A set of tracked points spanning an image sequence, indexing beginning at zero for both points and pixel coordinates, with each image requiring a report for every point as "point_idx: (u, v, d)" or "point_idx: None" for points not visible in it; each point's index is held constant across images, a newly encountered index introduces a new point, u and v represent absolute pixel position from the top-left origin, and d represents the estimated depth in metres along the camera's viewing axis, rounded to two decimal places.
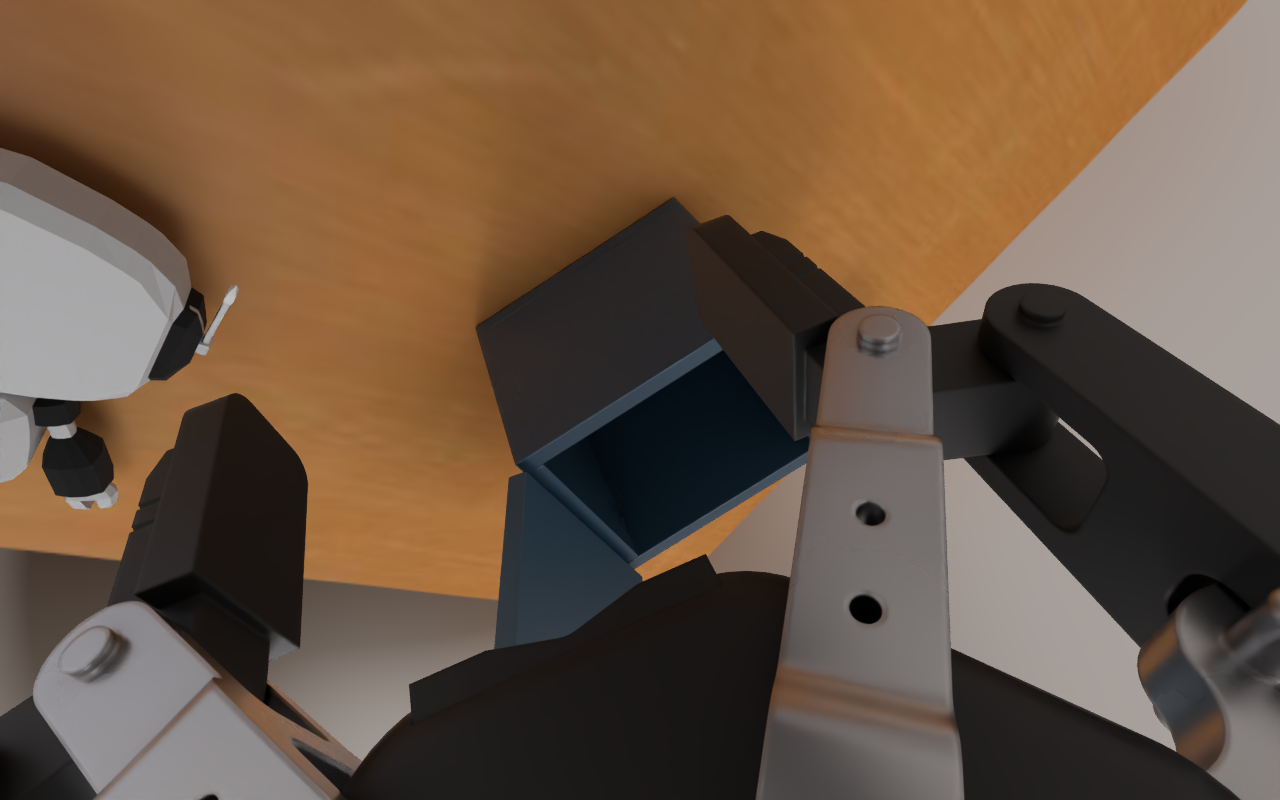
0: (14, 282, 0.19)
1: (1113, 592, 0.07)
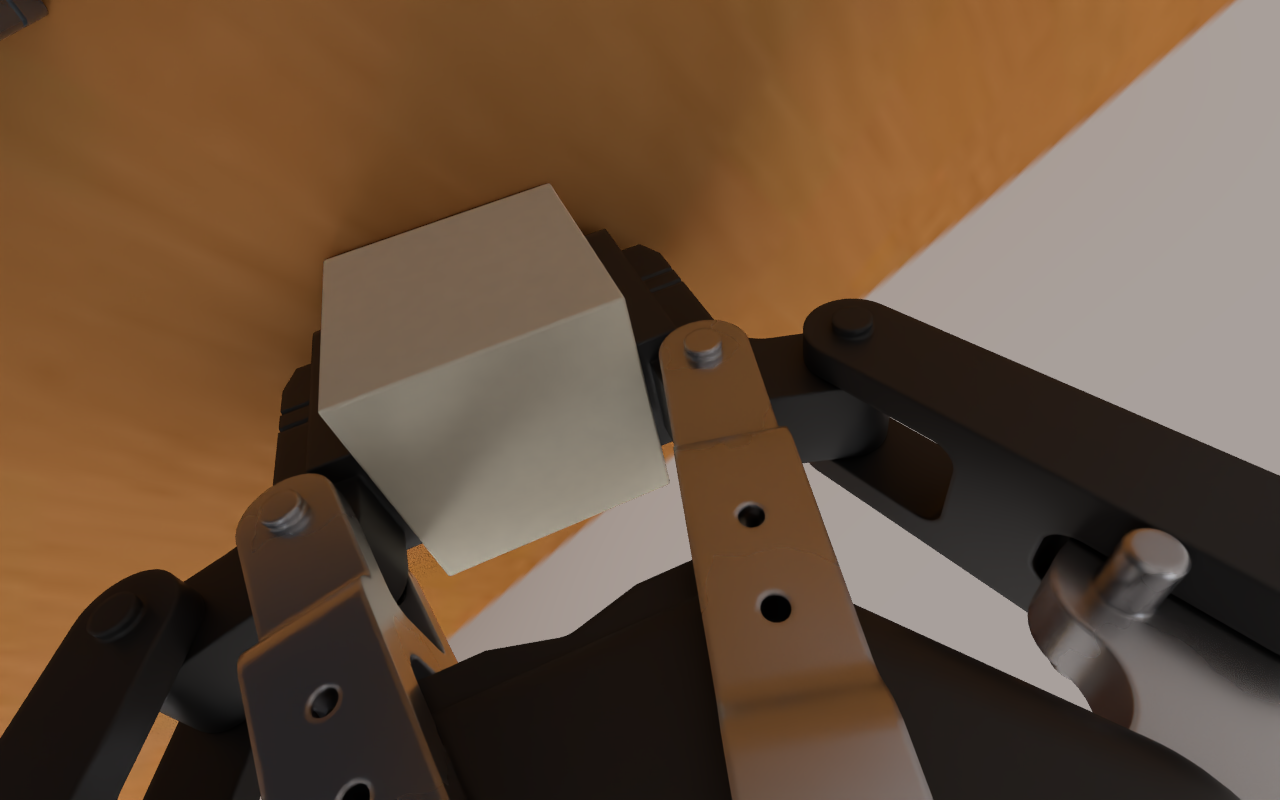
0: None
1: (985, 564, 0.08)
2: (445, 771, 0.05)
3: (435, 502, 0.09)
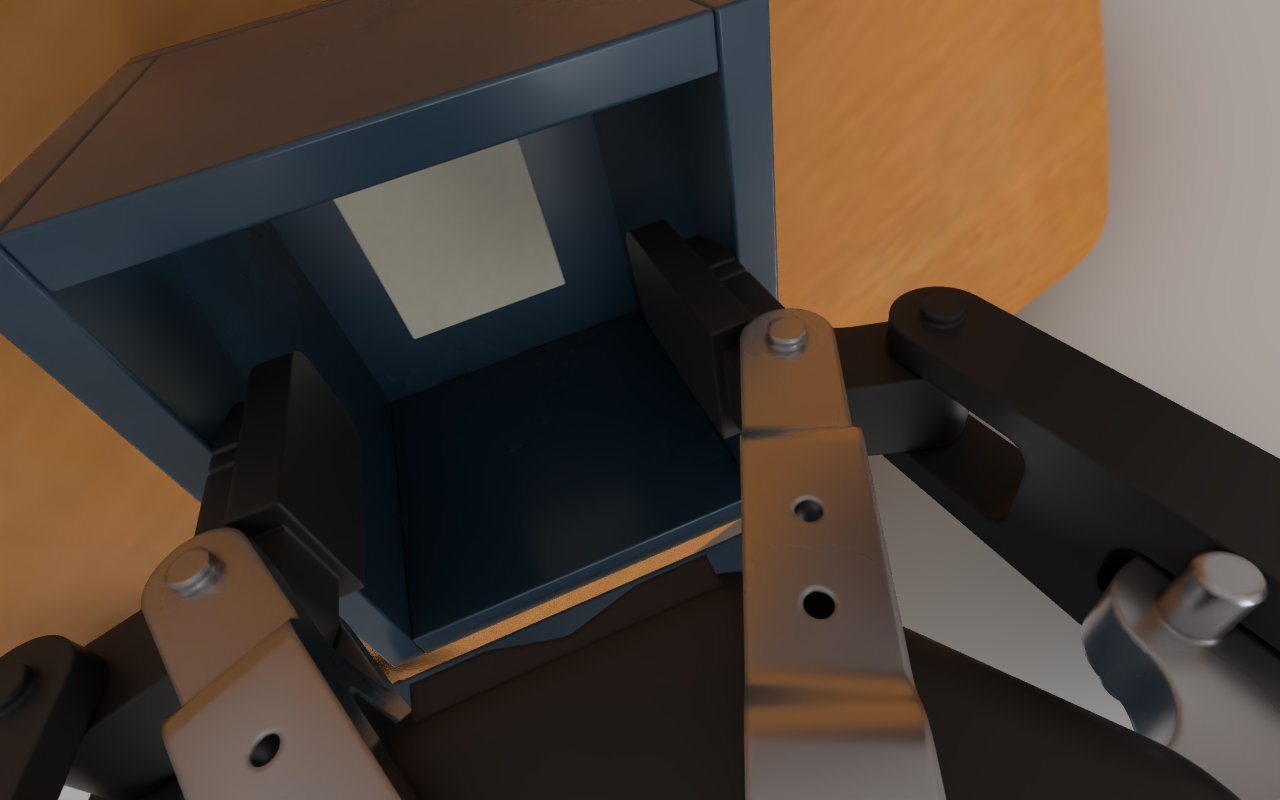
0: None
1: (1045, 573, 0.07)
2: (403, 791, 0.05)
3: (402, 273, 0.14)
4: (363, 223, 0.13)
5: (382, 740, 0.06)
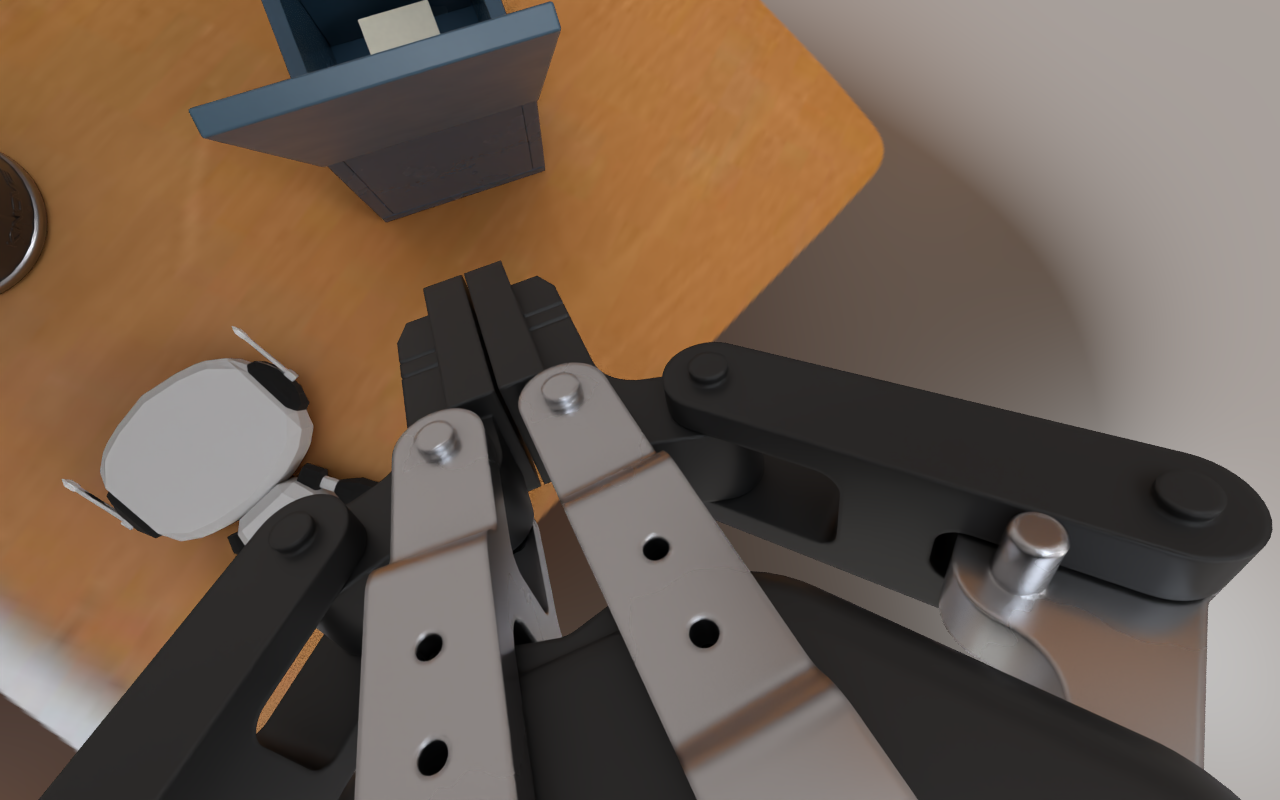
0: (190, 424, 0.34)
1: (886, 572, 0.08)
2: (519, 758, 0.05)
3: None
4: (368, 33, 0.34)
5: (522, 682, 0.06)
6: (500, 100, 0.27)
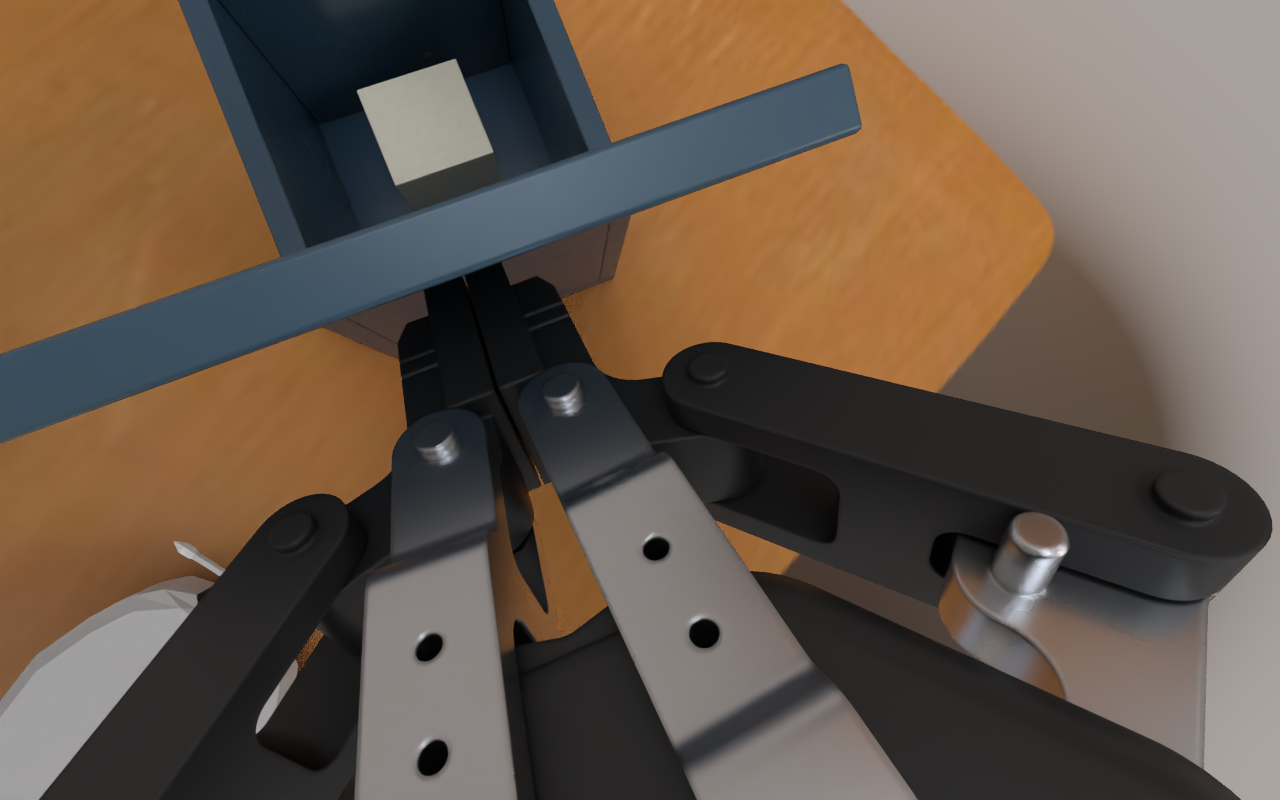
0: (109, 697, 0.22)
1: (887, 572, 0.08)
2: (520, 758, 0.05)
3: (391, 138, 0.24)
4: (372, 108, 0.24)
5: (522, 682, 0.06)
6: None
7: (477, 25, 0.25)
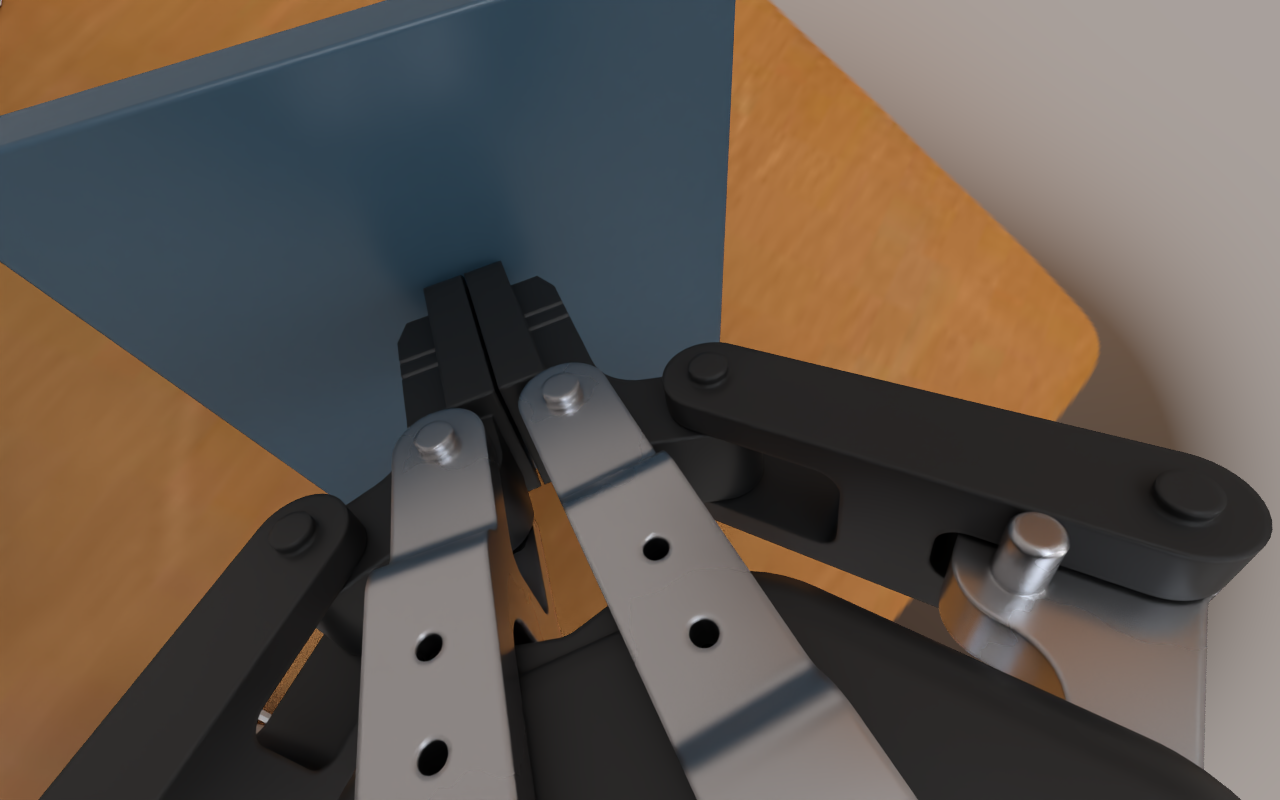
0: None
1: (886, 572, 0.08)
2: (519, 758, 0.05)
3: None
4: None
5: (522, 681, 0.06)
6: (652, 356, 0.16)
7: None
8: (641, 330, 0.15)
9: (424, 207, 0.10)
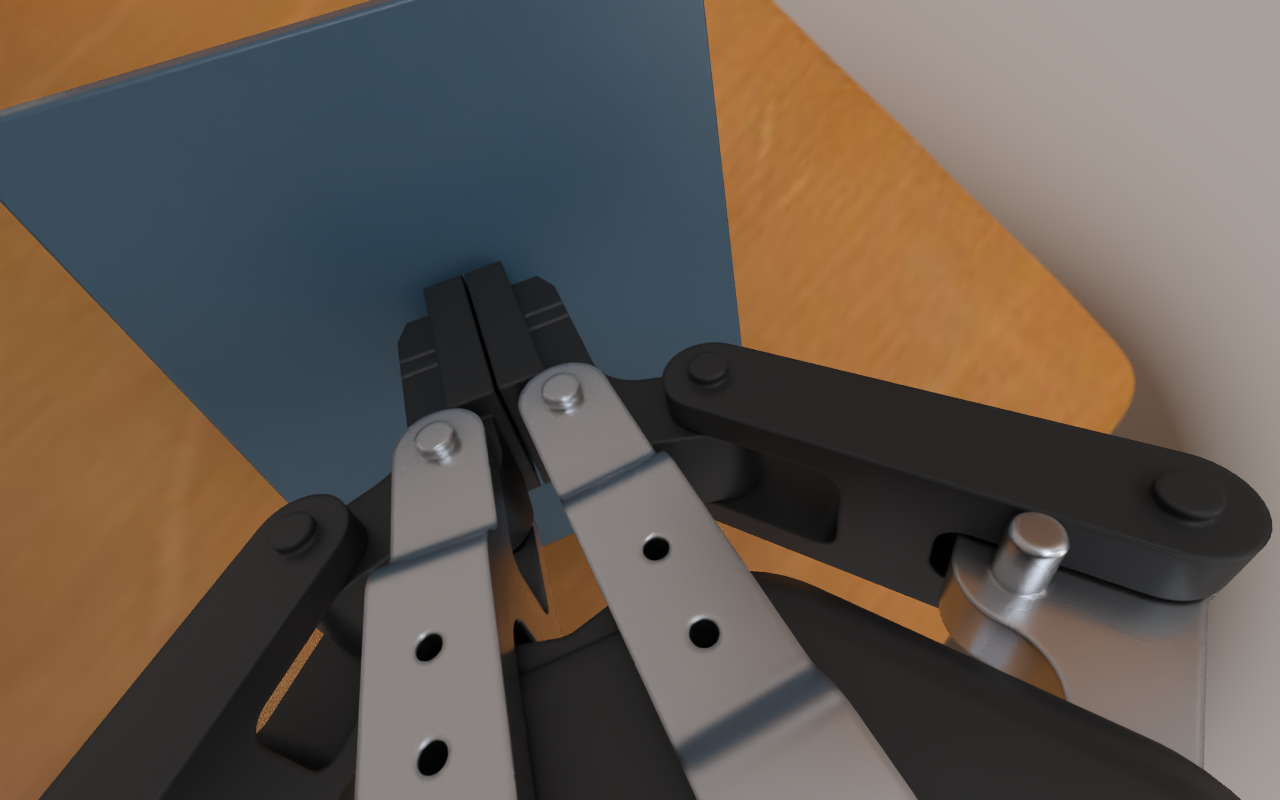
0: None
1: (886, 572, 0.08)
2: (519, 758, 0.05)
3: None
4: None
5: (522, 681, 0.06)
6: None
7: None
8: (656, 361, 0.14)
9: (420, 194, 0.10)
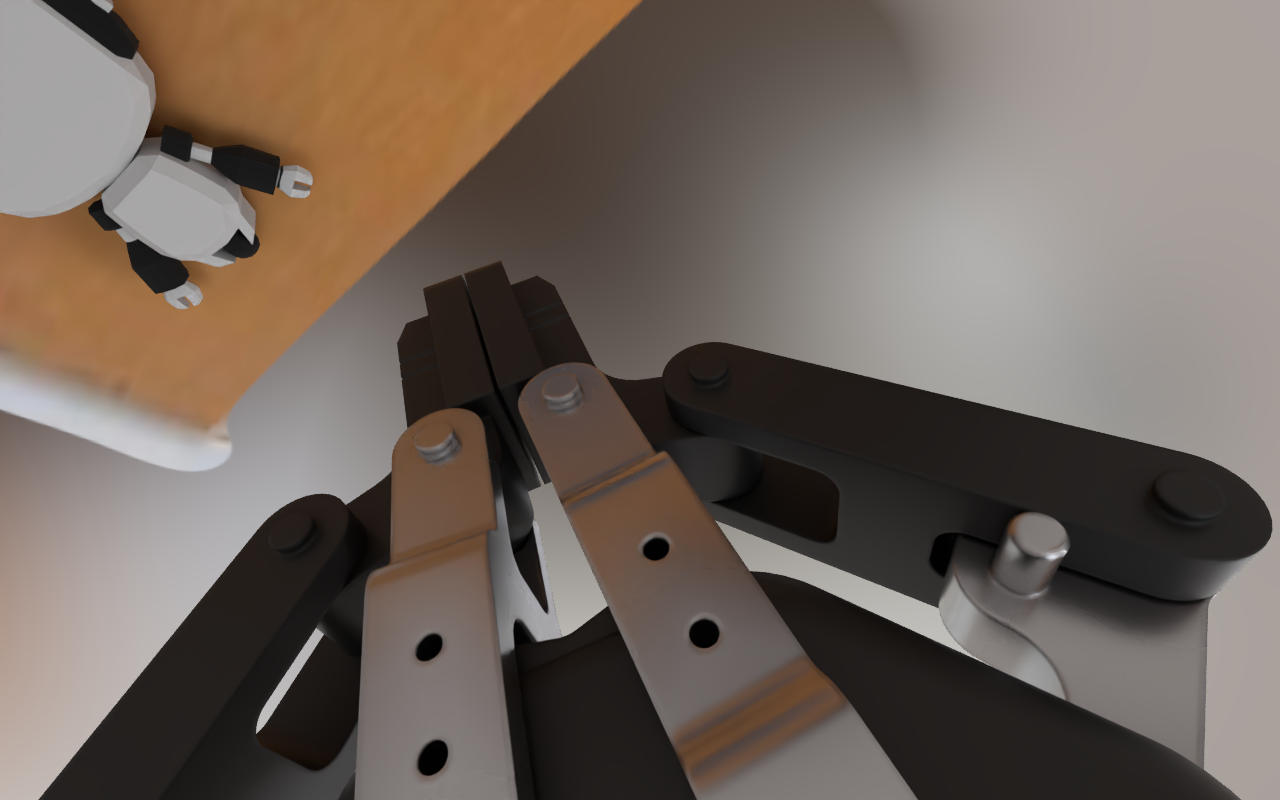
0: None
1: (887, 572, 0.08)
2: (519, 758, 0.05)
3: None
4: None
5: (522, 681, 0.06)
6: None
7: None
8: None
9: None
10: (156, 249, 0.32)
